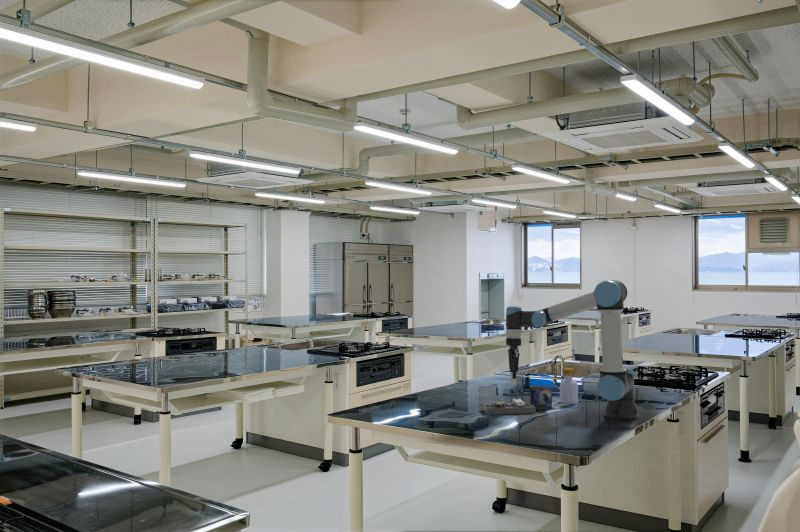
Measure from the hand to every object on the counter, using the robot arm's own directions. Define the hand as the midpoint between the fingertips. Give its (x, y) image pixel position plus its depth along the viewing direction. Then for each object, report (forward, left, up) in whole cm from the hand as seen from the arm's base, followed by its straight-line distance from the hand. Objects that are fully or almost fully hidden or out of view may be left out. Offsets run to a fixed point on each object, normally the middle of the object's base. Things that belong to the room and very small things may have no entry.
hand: (513, 384), depth 310 cm
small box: (+4, -15, -13) cm, 21 cm away
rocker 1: (-4, +9, -8) cm, 12 cm away
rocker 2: (-4, -1, -8) cm, 9 cm away
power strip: (-4, +4, -12) cm, 13 cm away
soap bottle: (+13, -33, -13) cm, 38 cm away
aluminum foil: (+77, -82, -13) cm, 113 cm away
